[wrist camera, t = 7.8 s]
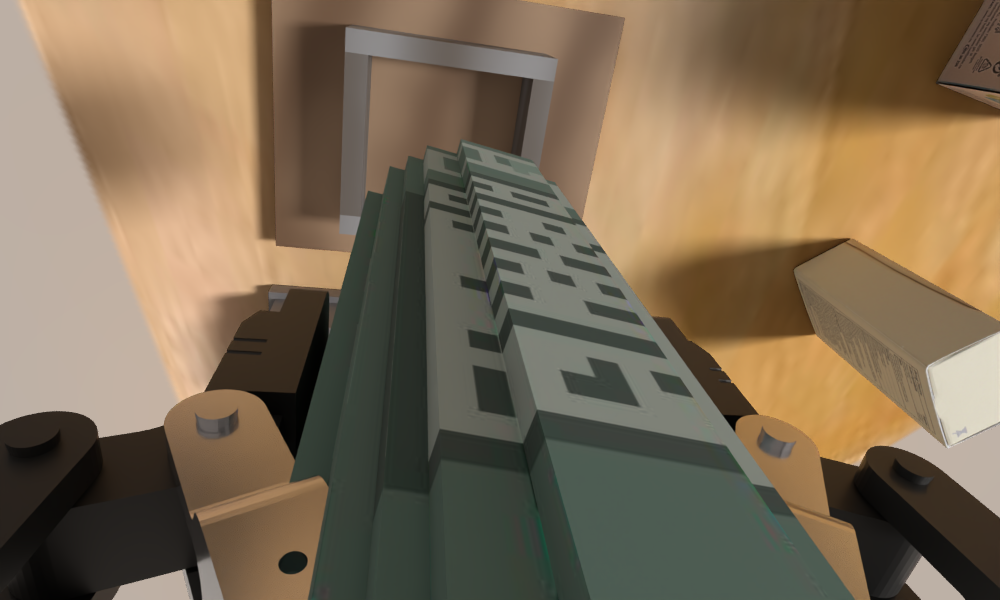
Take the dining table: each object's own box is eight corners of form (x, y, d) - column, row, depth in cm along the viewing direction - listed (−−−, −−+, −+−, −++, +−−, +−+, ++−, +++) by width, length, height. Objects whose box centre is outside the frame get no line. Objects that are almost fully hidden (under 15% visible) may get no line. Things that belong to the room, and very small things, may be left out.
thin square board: (617, 17, 31) (645, 19, 28) (566, 263, 37) (582, 293, 34) (276, -40, 28) (255, -45, 25) (280, 238, 34) (263, 267, 31)
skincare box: (872, 306, 42) (1030, 414, 31) (812, 337, 42) (947, 453, 31) (851, 233, 39) (1017, 324, 28) (787, 267, 39) (926, 369, 29)
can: (338, 318, 18) (101, 1257, 5) (384, 116, 15) (167, 861, 2) (529, 358, 19) (770, 1162, 6) (599, 179, 17) (1261, 863, 4)
